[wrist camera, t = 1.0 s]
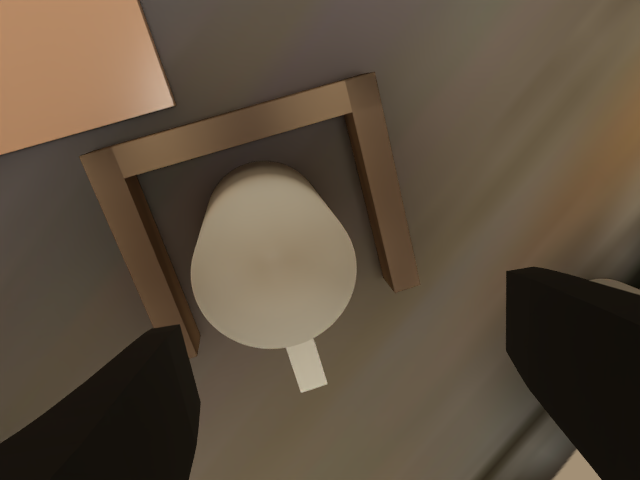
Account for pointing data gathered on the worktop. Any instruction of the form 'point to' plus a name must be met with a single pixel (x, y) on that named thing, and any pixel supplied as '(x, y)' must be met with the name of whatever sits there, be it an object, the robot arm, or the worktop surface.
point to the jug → (273, 264)
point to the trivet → (74, 68)
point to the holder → (232, 130)
